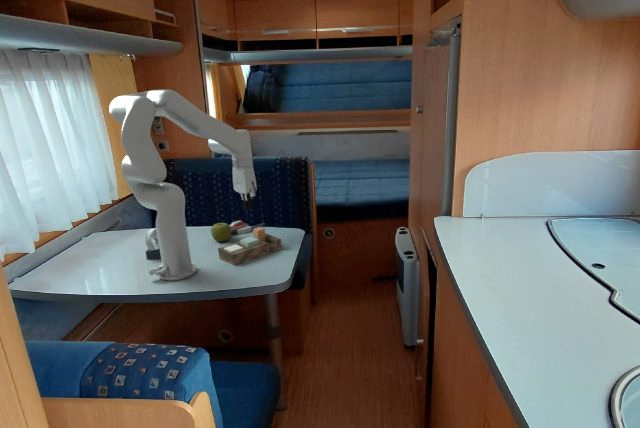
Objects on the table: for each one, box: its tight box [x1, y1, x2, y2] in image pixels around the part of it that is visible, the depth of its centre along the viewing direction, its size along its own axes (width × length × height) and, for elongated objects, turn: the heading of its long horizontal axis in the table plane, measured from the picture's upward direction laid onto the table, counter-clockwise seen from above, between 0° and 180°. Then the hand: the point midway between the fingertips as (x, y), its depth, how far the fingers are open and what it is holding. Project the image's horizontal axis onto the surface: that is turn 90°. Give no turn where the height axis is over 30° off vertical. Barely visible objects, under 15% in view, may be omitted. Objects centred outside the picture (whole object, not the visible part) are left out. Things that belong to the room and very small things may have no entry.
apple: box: [210, 222, 232, 242], centre depth 189 cm, size 8×8×7 cm
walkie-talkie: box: [228, 220, 266, 237], centre depth 201 cm, size 9×4×20 cm
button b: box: [239, 236, 259, 247], centre depth 174 cm, size 5×5×3 cm
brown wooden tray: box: [217, 232, 283, 266], centre depth 174 cm, size 21×10×4 cm, turn 131°
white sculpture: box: [145, 228, 161, 260], centre depth 176 cm, size 6×8×11 cm
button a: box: [224, 244, 243, 253], centre depth 170 cm, size 5×5×3 cm
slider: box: [252, 226, 266, 242], centre depth 180 cm, size 3×3×5 cm
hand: (248, 208), depth 183 cm, fingers closed
